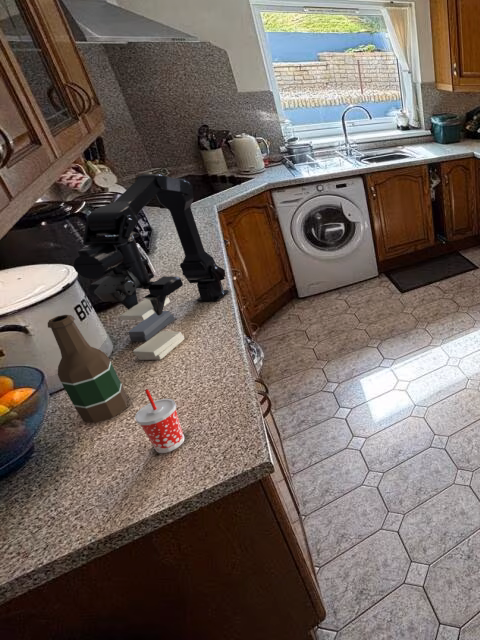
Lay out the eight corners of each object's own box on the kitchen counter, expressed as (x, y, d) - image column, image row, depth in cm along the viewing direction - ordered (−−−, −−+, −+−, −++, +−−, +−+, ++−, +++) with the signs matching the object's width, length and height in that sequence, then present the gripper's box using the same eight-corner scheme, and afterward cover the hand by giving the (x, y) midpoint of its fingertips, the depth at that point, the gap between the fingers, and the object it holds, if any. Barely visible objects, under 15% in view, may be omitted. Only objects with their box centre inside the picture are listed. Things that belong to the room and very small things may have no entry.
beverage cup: (180, 453, 81) (155, 399, 75) (144, 458, 79) (116, 403, 74) (194, 429, 86) (173, 376, 80) (161, 433, 85) (137, 380, 79)
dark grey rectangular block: (160, 319, 123) (156, 310, 122) (175, 319, 123) (172, 310, 122) (130, 341, 113) (125, 331, 111) (146, 341, 113) (142, 331, 112)
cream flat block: (162, 339, 114) (159, 330, 113) (185, 338, 114) (182, 330, 113) (135, 361, 105) (131, 352, 104) (159, 360, 106) (156, 352, 104)
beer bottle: (89, 430, 85) (36, 334, 75) (76, 414, 89) (24, 321, 79) (136, 406, 91) (92, 315, 81) (122, 393, 95) (79, 304, 85)
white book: (149, 301, 110) (147, 297, 109) (170, 301, 110) (168, 297, 110) (121, 320, 102) (119, 315, 101) (144, 320, 102) (142, 315, 101)
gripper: (54, 275, 92) (82, 332, 99) (139, 275, 93) (162, 332, 99) (98, 254, 103) (121, 308, 109) (174, 255, 103) (193, 308, 110)
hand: (148, 314), depth 106 cm, fingers closed on white book, 5 cm apart
